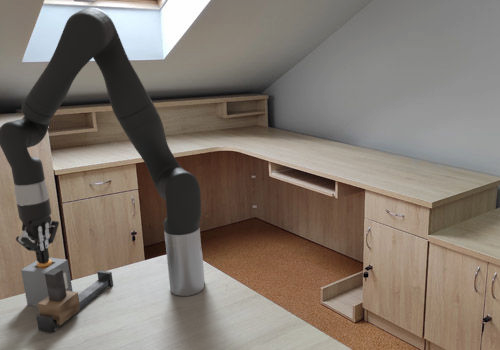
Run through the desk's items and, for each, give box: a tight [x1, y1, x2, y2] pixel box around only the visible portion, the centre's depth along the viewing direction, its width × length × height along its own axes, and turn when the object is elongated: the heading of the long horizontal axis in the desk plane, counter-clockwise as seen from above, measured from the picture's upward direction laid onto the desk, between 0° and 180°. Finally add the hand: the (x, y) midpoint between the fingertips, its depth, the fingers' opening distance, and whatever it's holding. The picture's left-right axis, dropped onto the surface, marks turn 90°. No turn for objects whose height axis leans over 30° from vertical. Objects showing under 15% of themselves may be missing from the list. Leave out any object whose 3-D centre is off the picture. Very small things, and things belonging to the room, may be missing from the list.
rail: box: [35, 270, 114, 334], centre depth 122 cm, size 24×4×4 cm, turn 160°
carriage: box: [37, 268, 81, 326], centre depth 115 cm, size 7×6×12 cm
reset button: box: [37, 259, 52, 269], centre depth 125 cm, size 4×4×6 cm
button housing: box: [20, 257, 74, 307], centre depth 125 cm, size 8×9×10 cm
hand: (43, 262), depth 124 cm, fingers closed
